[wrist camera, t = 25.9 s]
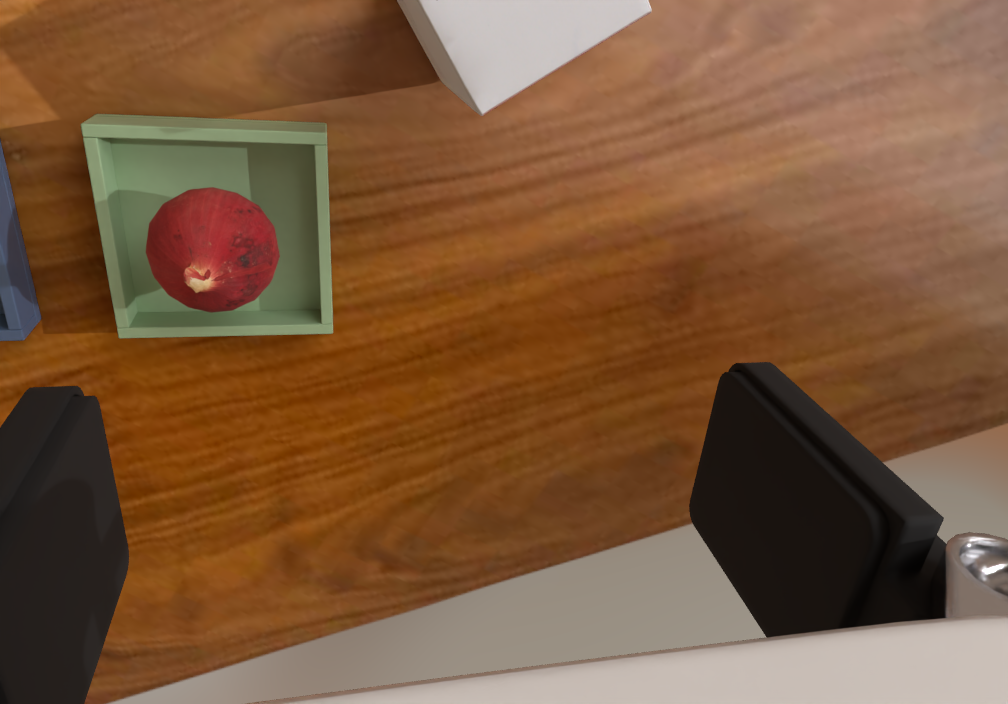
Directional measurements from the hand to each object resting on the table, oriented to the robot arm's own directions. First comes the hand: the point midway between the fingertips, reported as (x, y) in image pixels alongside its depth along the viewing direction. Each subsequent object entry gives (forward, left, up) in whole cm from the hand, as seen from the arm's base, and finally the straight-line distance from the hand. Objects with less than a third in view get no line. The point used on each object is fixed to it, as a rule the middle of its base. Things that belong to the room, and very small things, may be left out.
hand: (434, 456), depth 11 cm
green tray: (+6, -7, -30) cm, 32 cm away
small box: (-6, +6, -31) cm, 32 cm away
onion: (+6, -7, -30) cm, 31 cm away
